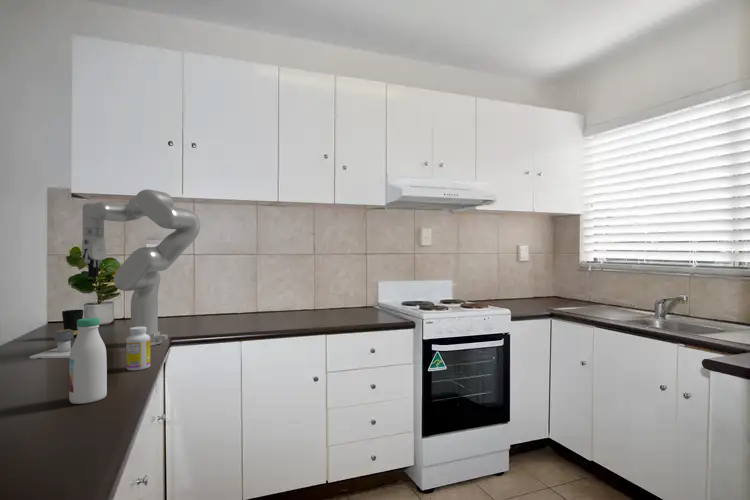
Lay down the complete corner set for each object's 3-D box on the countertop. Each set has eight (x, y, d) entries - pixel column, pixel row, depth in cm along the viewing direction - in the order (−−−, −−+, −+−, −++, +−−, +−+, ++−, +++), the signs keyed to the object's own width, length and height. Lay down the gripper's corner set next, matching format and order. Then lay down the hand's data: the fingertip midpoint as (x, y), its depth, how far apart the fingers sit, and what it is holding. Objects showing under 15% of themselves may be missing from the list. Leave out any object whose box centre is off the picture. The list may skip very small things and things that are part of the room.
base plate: (95, 348, 161) (95, 335, 161) (71, 357, 147) (71, 343, 147) (57, 349, 160) (57, 336, 161) (29, 358, 147) (29, 344, 147)
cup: (58, 340, 178) (58, 312, 178) (66, 337, 186) (66, 310, 186) (79, 339, 180) (79, 311, 180) (86, 336, 188) (86, 309, 188)
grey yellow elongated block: (64, 343, 151) (63, 329, 151) (50, 342, 152) (50, 328, 152) (91, 336, 163) (91, 323, 163) (78, 336, 164) (78, 323, 164)
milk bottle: (113, 393, 108) (113, 316, 108) (94, 404, 101) (94, 321, 101) (82, 394, 108) (82, 316, 108) (61, 405, 100) (61, 321, 100)
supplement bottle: (145, 364, 137) (145, 325, 138) (154, 367, 133) (153, 327, 133) (122, 368, 132) (122, 328, 132) (131, 372, 128) (131, 330, 128)
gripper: (92, 232, 168) (92, 277, 168) (112, 233, 183) (112, 275, 183) (72, 232, 168) (72, 278, 167) (94, 233, 183) (94, 276, 182)
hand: (93, 276), depth 175 cm, fingers closed
